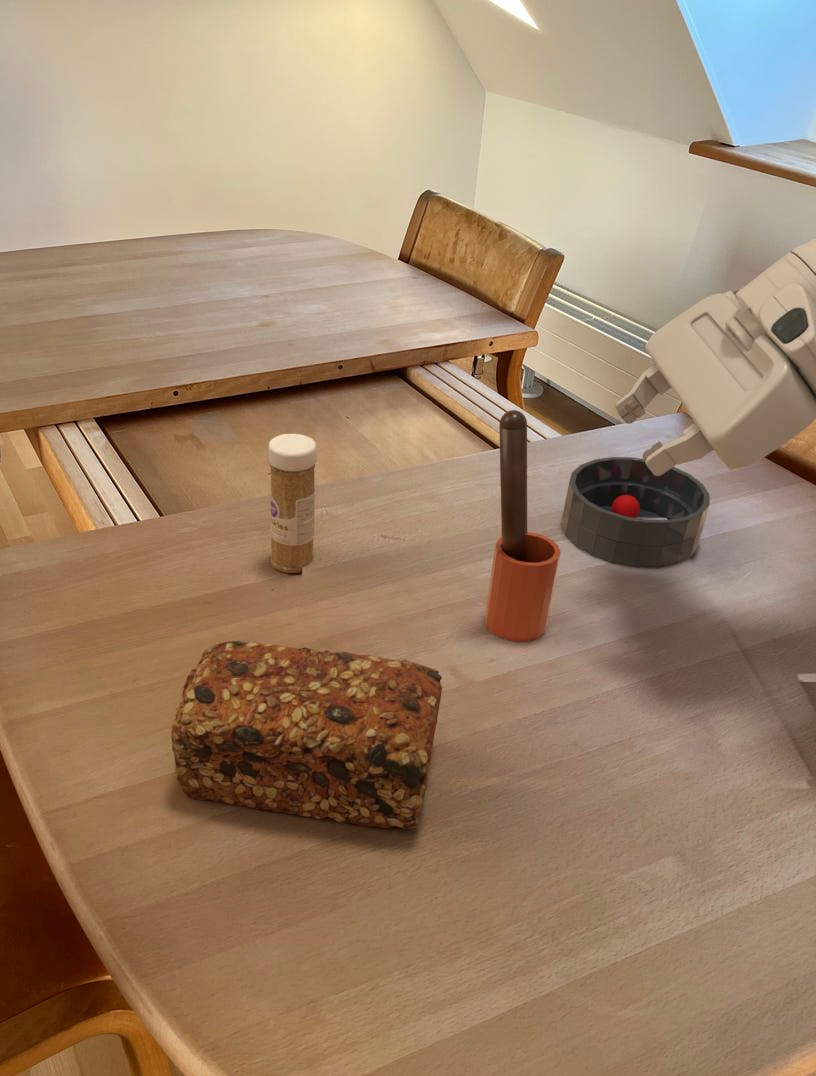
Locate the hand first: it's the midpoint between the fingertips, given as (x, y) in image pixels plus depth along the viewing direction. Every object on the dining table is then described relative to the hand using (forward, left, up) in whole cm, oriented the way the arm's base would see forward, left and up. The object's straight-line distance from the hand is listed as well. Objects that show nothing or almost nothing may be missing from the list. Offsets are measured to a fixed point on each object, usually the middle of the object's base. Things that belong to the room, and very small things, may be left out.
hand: (633, 440), depth 80 cm
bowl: (-8, -16, -19) cm, 26 cm away
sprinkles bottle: (+28, -10, -19) cm, 36 cm away
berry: (-8, -19, -17) cm, 26 cm away
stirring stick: (+7, +1, -18) cm, 20 cm away
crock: (+7, +1, -19) cm, 21 cm away
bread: (+26, +20, -19) cm, 38 cm away
